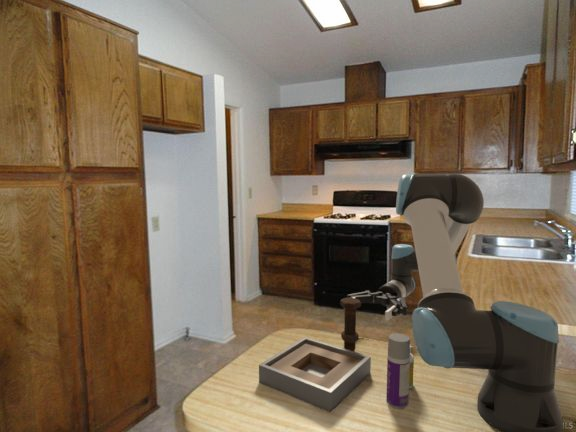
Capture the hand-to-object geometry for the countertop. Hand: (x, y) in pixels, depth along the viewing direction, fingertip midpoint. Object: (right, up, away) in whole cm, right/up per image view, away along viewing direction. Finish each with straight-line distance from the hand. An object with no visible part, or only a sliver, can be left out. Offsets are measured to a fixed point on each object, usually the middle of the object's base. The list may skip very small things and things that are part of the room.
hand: (364, 311), depth 116 cm
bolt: (-6, -10, -7) cm, 13 cm away
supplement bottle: (+4, -12, -24) cm, 27 cm away
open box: (-17, -11, -21) cm, 29 cm away
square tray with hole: (-17, -11, -21) cm, 29 cm away
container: (+1, -12, -31) cm, 34 cm away
